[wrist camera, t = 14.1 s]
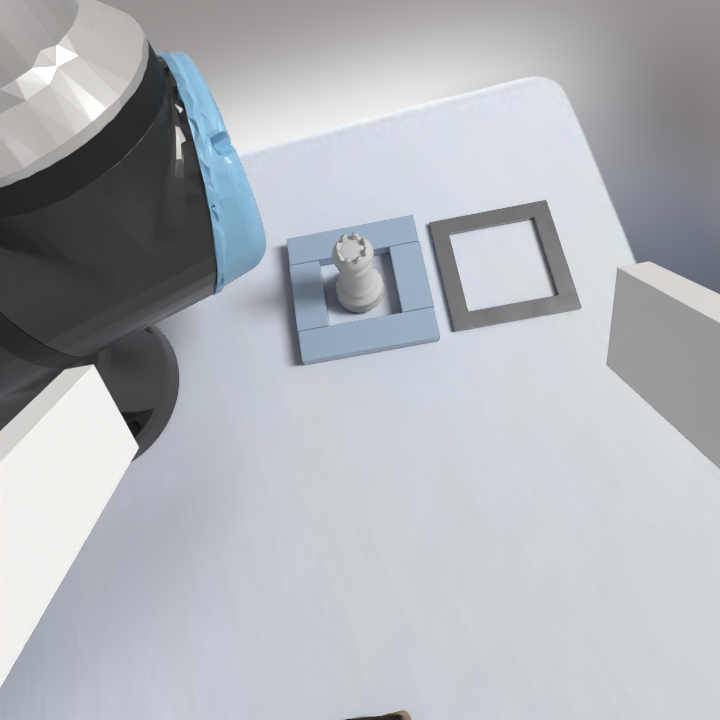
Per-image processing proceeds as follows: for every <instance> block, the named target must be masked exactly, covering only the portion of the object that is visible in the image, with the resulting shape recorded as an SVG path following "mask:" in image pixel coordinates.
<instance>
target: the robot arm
mask: <svg viewBox="0 0 720 720" xmlns="http://www.w3.org/2000/svg"><path fill="white" fill-rule="evenodd" d="M265 249H266V237H265V231H264V227H263V223H262V219H261V216H260V213H259V210H258V207H257V204H256V201H255V198H254V195H253V192H252V190H251V187H250V184H249V182H248V179H247V176H246V174H245V171H244V169H243V166H242V164H241V161H240V159H239V157H238V154H237V152H236V151H235V149H234V147H233V146H232V145H231V139H230V137H229V134H228V132H227V130H226V128H225V125H224V122H223V119H222V116H221V114H220V112H219V109H218V107H217V105H216V103H215V101H214V99H213V97H212V94H211V92H210V90H209V88H208V86H207V84H206V82H205V81H204V79H203V77H202V75H201V73H200V71H199V70H198V68H197V66H196V65H195V64H194V62H193V61H192V59H191V58H190V57H189V56H188V55H186V54H185V53H183V52H180V51H177V52H173V53H170V52H168V51H164V52H163V53H162V52H160V53H158V54H157V56H156V54H155V52H154V51H153V49H152V47H151V45H150V44H149V42H148V40H147V38H146V36H145V34H144V32H143V31H142V29H141V28H140V26H139V25H138V23H137V22H136V21H135V20H134V19H133V18H132V17H130V16H129V15H128V14H126V13H124V12H122V11H120V10H117V9H114V8H113V7H110V6H108V5H105V4H103V3H101V2H98V1H96V0H0V687H1V685H2V684H3V682H4V680H5V679H6V677H7V675H8V673H9V672H10V670H11V668H12V666H13V665H14V663H15V661H16V660H17V658H18V656H19V654H20V653H21V651H22V649H23V647H24V646H25V644H26V642H27V641H28V639H29V637H30V635H31V634H32V632H33V630H34V628H35V627H36V625H37V623H38V622H39V620H40V618H41V616H42V615H43V613H44V611H45V609H46V608H47V606H48V604H49V602H50V601H51V599H52V597H53V596H54V594H55V592H56V590H57V589H58V587H59V585H60V583H61V582H62V580H63V578H64V577H65V575H66V573H67V571H68V570H69V568H70V566H71V564H72V563H73V561H74V559H75V558H76V556H77V554H78V552H79V551H80V549H81V547H82V545H83V544H84V542H85V540H86V539H87V537H88V535H89V533H90V532H91V530H92V528H93V526H94V525H95V523H96V521H97V520H98V518H99V516H100V514H101V513H102V511H103V509H104V507H105V506H106V504H107V502H108V500H109V499H110V497H111V495H112V494H113V492H114V490H115V488H116V487H117V485H118V483H119V481H120V480H121V478H122V476H123V475H124V473H125V471H126V469H127V468H128V466H129V464H130V462H132V461H133V460H135V459H136V458H137V457H139V456H140V455H141V454H142V453H144V452H145V451H146V450H147V449H148V448H149V447H150V446H151V445H152V444H153V443H154V442H155V440H156V439H157V438H158V437H159V435H160V434H161V433H162V431H163V430H164V428H165V426H166V425H167V423H168V421H169V419H170V417H171V415H172V412H173V409H174V407H175V403H176V400H177V395H178V389H179V370H178V364H177V359H176V356H175V353H174V351H173V348H172V346H171V345H170V343H169V341H168V340H167V338H166V337H165V336H164V334H163V333H162V332H161V331H160V330H159V329H158V328H156V327H155V326H154V325H153V324H155V323H157V322H159V321H161V320H163V319H165V318H167V317H169V316H171V315H173V314H175V313H177V312H179V311H181V310H183V309H185V308H187V307H189V306H191V305H193V304H195V303H197V302H199V301H201V300H203V299H205V298H207V297H208V296H210V295H212V294H213V295H215V294H217V293H219V292H221V290H222V289H223V287H224V286H225V285H227V284H229V283H230V282H232V281H234V280H235V279H237V278H239V277H240V276H242V275H244V274H245V273H247V272H248V271H250V270H252V269H253V268H255V267H256V266H257V265H258V263H259V262H260V260H261V259H262V257H263V255H264V253H265ZM606 365H607V366H608V367H609V368H610V369H611V370H612V371H614V372H615V373H616V374H617V375H618V376H619V377H620V378H621V379H622V380H623V381H624V382H626V383H627V384H628V385H629V386H630V387H631V388H632V389H633V390H634V391H635V392H636V393H637V394H639V395H640V396H641V397H642V398H643V399H644V400H645V401H646V402H647V403H648V404H649V405H651V406H652V407H653V408H654V409H655V410H656V411H657V412H658V413H659V414H660V415H661V416H663V417H664V418H665V419H666V420H667V421H668V422H669V423H670V424H671V425H672V426H673V427H674V428H676V429H677V430H678V431H679V432H680V433H681V434H682V435H683V436H684V437H685V438H686V439H688V440H689V441H690V442H691V443H692V444H693V445H694V446H695V447H696V448H697V449H698V450H700V451H701V452H702V453H703V454H704V455H705V456H706V457H707V458H708V459H709V460H710V461H711V462H713V463H714V464H715V465H716V466H717V467H718V468H719V469H720V294H718V293H715V292H713V291H711V290H709V289H707V288H705V287H703V286H701V285H699V284H696V283H694V282H692V281H690V280H688V279H686V278H683V277H681V276H679V275H677V274H675V273H673V272H671V271H669V270H666V269H664V268H662V267H660V266H658V265H656V264H653V263H651V262H644V263H639V264H634V265H628V266H623V267H617V276H616V285H615V294H614V302H613V311H612V320H611V329H610V338H609V347H608V355H607V364H606Z"/></svg>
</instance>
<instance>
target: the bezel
mask: <svg viewBox="0 0 720 720" xmlns="http://www.w3.org/2000/svg"><path fill="white" fill-rule="evenodd" d="M530 219H534V222H535V225H536V228H537V231H538V234H539V238H540V241H541V244H542V247H543V250H544V254H545V257H546V260H547V263H548V266H549V269H550V273H551V276H552V279H553V282H554V285H555V288H556V292H557V296H552V297H546V298H541V299H535V300H530V301H524V302H519V303H513V304H508V305H502V306H497V307H491V308H486V309H480V310H475V311H470V312H468V309H467V305H466V301H465V297H464V293H463V289H462V285H461V281H460V277H459V273H458V269H457V265H456V261H455V257H454V253H453V249H452V245H451V241H450V237H449V235H451V234H456V233H462V232H467V231H472V230H477V229H482V228H488V227H493V226H498V225H503V224H509V223H514V222H519V221H524V220H530ZM429 226H430V230H431V234H432V238H433V242H434V247H435V251H436V255H437V259H438V264H439V268H440V272H441V276H442V281H443V285H444V289H445V293H446V298H447V302H448V306H449V310H450V315H451V319H452V323H453V327H454V332H456V331H461V330H467V329H473V328H478V327H484V326H489V325H495V324H500V323H506V322H511V321H517V320H522V319H528V318H533V317H539V316H544V315H550V314H555V313H561V312H566V311H572V310H577V309H581V308H582V307H581V304H580V301H579V298H578V295H577V292H576V289H575V286H574V283H573V280H572V277H571V274H570V271H569V268H568V265H567V262H566V259H565V256H564V253H563V250H562V247H561V243H560V240H559V237H558V234H557V231H556V228H555V225H554V222H553V219H552V216H551V213H550V210H549V207H548V204H547V201H546V200H544V201H539V202H534V203H528V204H523V205H518V206H513V207H508V208H502V209H497V210H492V211H487V212H482V213H476V214H471V215H466V216H461V217H456V218H450V219H445V220H440V221H435V222H430V223H429Z"/></svg>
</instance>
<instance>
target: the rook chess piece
mask: <svg viewBox="0 0 720 720" xmlns="http://www.w3.org/2000/svg"><path fill="white" fill-rule="evenodd" d="M340 238H341V239H340V240H339V241H338V242H336V244H335V246H334V247H333V250H332V260H333V263H334V264H335V266H336V267H337V268H338V270H339V271H340V274H339V275H338V278H337V282H336V285H335V286H336V293H337V299H338V300H339V302H340V303H341V305H342V306H343V307H345V308H346V309H348V310H349V311H353V312H358V313H360V312H366V311H370V310H371V309H373V308H375V307H376V306H377V305H378V304H379V303H380V301H381V300H382V299H383V295H384V291H385V288H384V283H383V279H382V276H381V275H380V273H379V272H378V271H377V269H376V268H374V267H372V259H373V255H374V251H373V246H372V245H371V243H370V242H369V241H368V240H367V239H365V238H364V237H362V236H359V234H358V233H353V232H352V235H350V236H346V234H344V235H342V236H341V237H340Z"/></svg>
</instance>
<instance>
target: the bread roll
mask: <svg viewBox="0 0 720 720" xmlns="http://www.w3.org/2000/svg"><path fill="white" fill-rule="evenodd" d="M346 720H411V717H410V715H409V714H408V712H407V711H399V712H394V713H389V714H386V715H383V716H376V717H370V718H364V719H346Z"/></svg>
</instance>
